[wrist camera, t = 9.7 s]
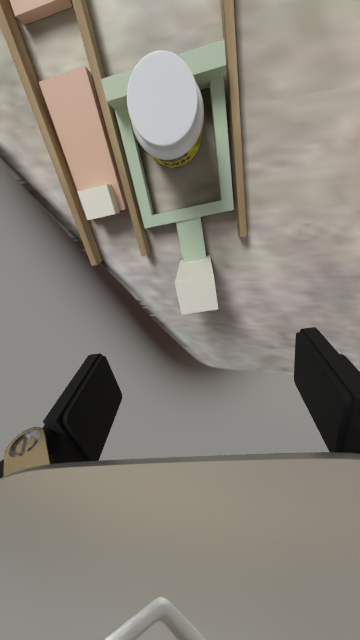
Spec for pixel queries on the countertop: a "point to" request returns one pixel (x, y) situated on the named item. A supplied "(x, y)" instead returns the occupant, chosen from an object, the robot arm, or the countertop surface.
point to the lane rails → (4, 18)
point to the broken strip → (79, 125)
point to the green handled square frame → (195, 266)
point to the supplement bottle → (166, 108)
